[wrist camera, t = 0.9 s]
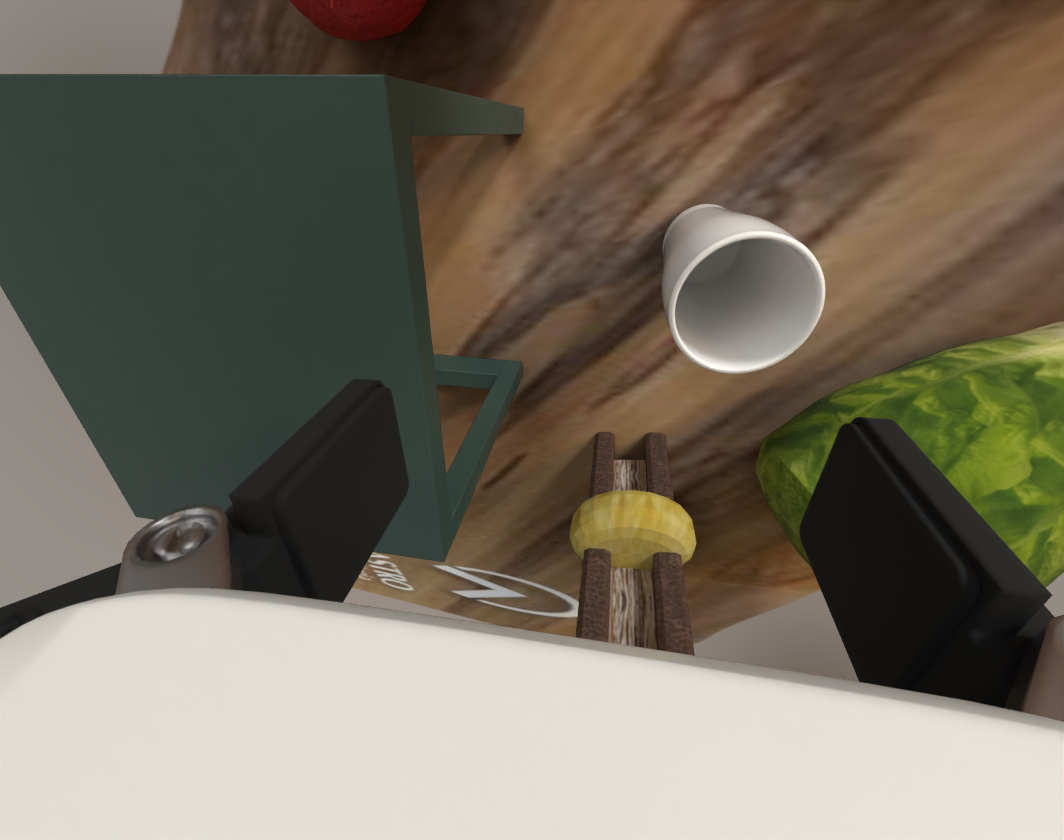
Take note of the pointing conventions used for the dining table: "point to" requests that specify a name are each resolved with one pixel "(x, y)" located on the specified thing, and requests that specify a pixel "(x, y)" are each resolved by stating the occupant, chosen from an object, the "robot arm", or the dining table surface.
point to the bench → (237, 273)
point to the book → (633, 551)
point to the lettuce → (952, 437)
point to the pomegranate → (360, 16)
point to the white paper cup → (737, 289)
